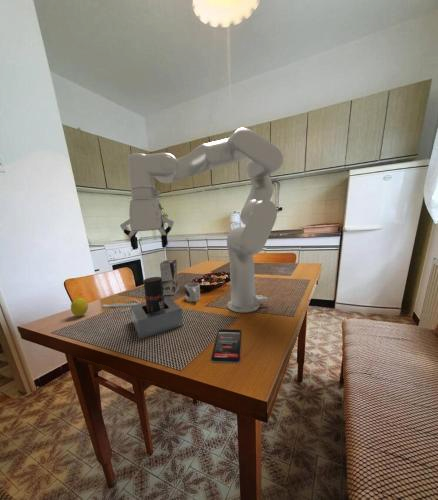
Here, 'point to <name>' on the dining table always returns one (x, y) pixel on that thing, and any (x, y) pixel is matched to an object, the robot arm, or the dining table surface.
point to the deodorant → (154, 294)
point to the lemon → (79, 306)
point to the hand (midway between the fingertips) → (150, 248)
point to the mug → (192, 292)
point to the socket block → (156, 318)
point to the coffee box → (169, 277)
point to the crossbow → (121, 305)
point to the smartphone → (227, 346)
